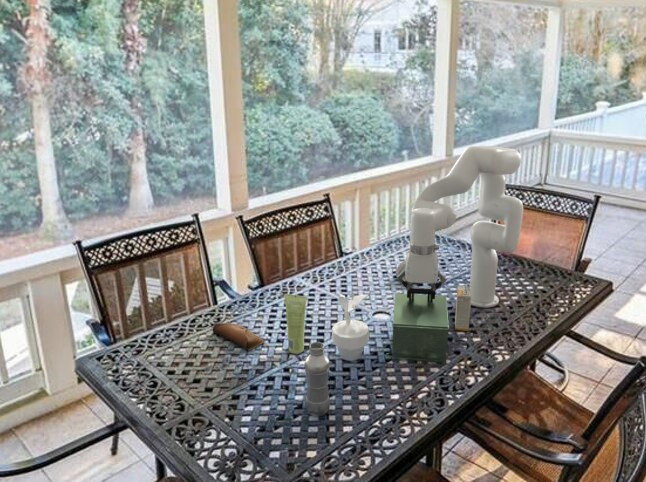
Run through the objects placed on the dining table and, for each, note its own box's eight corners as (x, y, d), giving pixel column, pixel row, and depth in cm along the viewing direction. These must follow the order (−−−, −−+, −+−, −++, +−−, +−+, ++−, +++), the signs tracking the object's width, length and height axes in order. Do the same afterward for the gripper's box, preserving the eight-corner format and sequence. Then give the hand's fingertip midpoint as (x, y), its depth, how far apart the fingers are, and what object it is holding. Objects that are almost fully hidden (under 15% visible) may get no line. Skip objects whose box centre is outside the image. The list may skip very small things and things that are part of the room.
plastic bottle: (305, 404, 146) (303, 339, 140) (329, 403, 146) (329, 338, 141) (305, 420, 140) (303, 353, 134) (331, 418, 140) (330, 351, 134)
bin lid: (395, 295, 176) (395, 282, 173) (446, 297, 173) (447, 285, 171) (393, 325, 163) (393, 312, 161) (448, 328, 161) (449, 315, 159)
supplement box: (469, 331, 183) (471, 296, 179) (454, 330, 184) (457, 295, 180) (468, 319, 191) (471, 286, 187) (454, 318, 192) (457, 285, 188)
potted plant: (342, 370, 161) (342, 295, 154) (326, 351, 171) (325, 280, 164) (378, 359, 167) (380, 286, 160) (360, 342, 177) (360, 272, 169)
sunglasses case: (266, 340, 177) (258, 328, 173) (253, 357, 174) (244, 346, 169) (231, 323, 188) (222, 312, 184) (218, 339, 185) (209, 328, 180)
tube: (302, 344, 176) (300, 289, 170) (308, 351, 171) (306, 296, 166) (286, 348, 173) (283, 293, 168) (291, 356, 169) (289, 300, 163)
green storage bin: (393, 337, 179) (394, 305, 176) (444, 340, 177) (445, 308, 174) (392, 359, 167) (393, 326, 163) (446, 363, 165) (448, 329, 161)
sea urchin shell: (389, 281, 222) (389, 263, 220) (403, 269, 233) (404, 252, 231) (418, 288, 216) (419, 269, 213) (432, 276, 227) (432, 258, 224)
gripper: (449, 244, 168) (447, 296, 174) (394, 242, 171) (394, 293, 176) (451, 253, 161) (448, 307, 167) (393, 251, 163) (393, 304, 169)
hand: (420, 299), depth 171 cm, fingers closed on bin lid, 6 cm apart
